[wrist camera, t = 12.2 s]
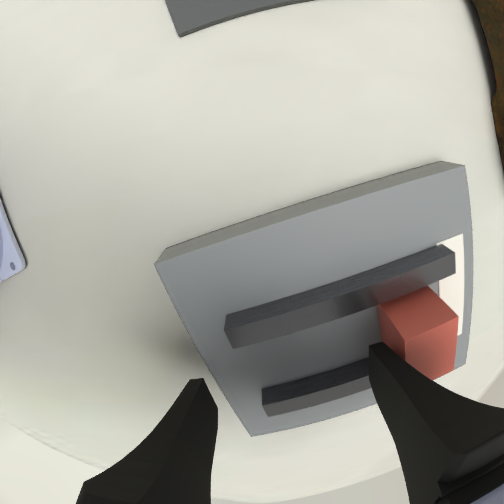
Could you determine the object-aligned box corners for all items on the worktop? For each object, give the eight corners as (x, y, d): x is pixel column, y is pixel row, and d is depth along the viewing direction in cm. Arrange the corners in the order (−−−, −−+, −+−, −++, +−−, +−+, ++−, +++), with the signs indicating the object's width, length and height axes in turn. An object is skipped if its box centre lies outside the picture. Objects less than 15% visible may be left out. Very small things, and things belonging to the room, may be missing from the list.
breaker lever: (382, 347, 13) (405, 392, 10) (375, 298, 12) (404, 340, 9) (424, 330, 13) (453, 370, 10) (422, 280, 12) (458, 316, 9)
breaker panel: (251, 413, 18) (250, 452, 15) (166, 248, 14) (144, 276, 11) (451, 346, 16) (474, 375, 13) (441, 161, 12) (481, 168, 9)
